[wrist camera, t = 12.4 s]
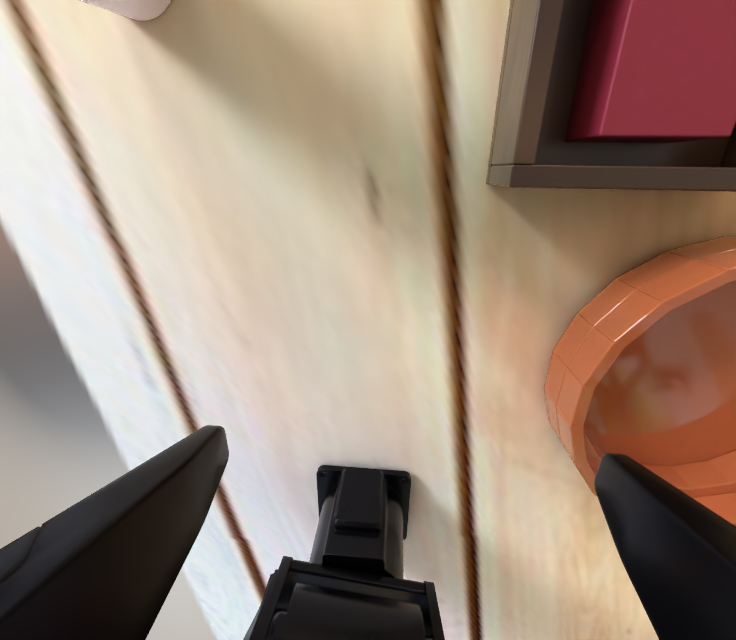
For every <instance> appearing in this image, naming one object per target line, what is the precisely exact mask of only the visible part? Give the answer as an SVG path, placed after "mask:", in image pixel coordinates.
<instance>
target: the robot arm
mask: <svg viewBox="0 0 736 640" xmlns="http://www.w3.org/2000/svg"><path fill="white" fill-rule="evenodd" d="M228 457H229V450H228V445H227V439H226V434H225V430H224V428H223V427H221V426H212V425H207V426H204V427H202V428H201V429H199V430H197V431H196V432H194V433H192V434H191V435H189V436H187V437H186V438H184V439H183V440H181V441H179V442H178V443H176V444H174V445H173V446H171V447H169V448H168V449H166V450H164V451H163V452H161V453H159V454H158V455H156V456H154V457H153V458H151V459H149V460H148V461H146V462H144V463H143V464H141V465H139V466H138V467H136V468H134V469H133V470H131V471H129V472H128V473H126V474H124V475H123V476H121V477H120V478H118V479H116V480H115V481H113V482H111V483H110V484H108V485H106V486H105V487H103V488H101V489H100V490H98V491H96V492H95V493H93V494H91V495H90V496H88V497H86V498H85V499H83V500H81V501H80V502H78V503H76V504H75V505H73V506H71V507H70V508H68V509H66V510H65V511H63V512H61V513H60V514H58V515H56V516H55V517H53V518H52V519H50V520H48V521H46V522H45V523H43V524H42V526H41V527H36V528H35V529H33V530H31V531H30V532H28V533H26V534H25V535H23V536H22V537H20V538H18V539H16V540H15V541H13V542H11V543H10V544H8V545H6V546H5V547H3V548H1V549H0V640H145V639H146V637H147V635H148V633H149V631H150V629H151V627H152V625H153V623H154V621H155V619H156V617H157V615H158V613H159V611H160V609H161V607H162V605H163V603H164V601H165V599H166V597H167V595H168V593H169V591H170V589H171V587H172V585H173V584H174V582H175V580H176V578H177V575H178V574H179V572H180V570H181V568H182V566H183V564H184V562H185V560H186V558H187V556H188V554H189V552H190V550H191V548H192V546H193V544H194V542H195V540H196V538H197V536H198V534H199V532H200V530H201V527H202V525H203V523H204V521H205V518H206V516H207V514H208V511H209V508H210V506H211V503H212V501H213V498H214V495H215V493H216V490H217V488H218V485H219V482H220V480H221V477H222V475H223V472H224V469H225V467H226V464H227V461H228ZM323 472H324V473H323ZM410 487H411V476H410V474H409V473H408V472H405V471H395V470H381V469H368V468H355V467H342V466H329V465H322V466H320V467H319V468H318V471H317V489H318V506H319V523H318V527H317V531H316V536H315V540H314V544H313V548H312V553H311V557H310V561H309V562H304V561H299V560H293V558H292V557H287V556H283V559H282V562H281V564H280V567H279V569H278V570H277V569H276V570H275V573H273V574H271V575H270V578H269V581H268V584H267V587H266V590H265V594H264V597H263V600H262V602H261V605H260V607H259V610H258V612H257V614H256V616H255V618H254V620H253V622H252V624H251V626H250V628H249V629H248V631H247V633H246V635H245V637H244V639H243V640H445V638H444V633H443V628H442V623H441V617H440V612H439V607H438V602H437V597H436V592H435V586H434V583H433V582H427V581H424V582H423V583H422V582H416V581H411V580H405V579H403V540H405V539H406V536H407V524H408V512H409V499H410ZM594 487H595V491H596V494H597V497H598V499H599V502H600V505H601V507H602V510H603V513H604V516H605V518H606V521H607V524H608V526H609V529H610V532H611V534H612V537H613V540H614V542H615V545H616V548H617V550H618V553H619V555H620V558H621V560H622V562H623V565H624V567H625V569H626V571H627V573H628V575H629V578H630V580H631V582H632V584H633V586H634V588H635V590H636V592H637V594H638V596H639V598H640V600H641V603H642V605H643V607H644V609H645V611H646V613H647V615H648V617H649V619H650V621H651V623H652V625H653V627H654V630H655V632H656V634H657V636H658V638H659V640H736V526H735V525H733V524H732V523H730V522H729V521H727V520H726V519H724V518H723V517H721V516H719V515H718V514H716V513H715V512H713V511H712V510H710V509H709V508H707V507H706V506H704V505H703V504H701V503H700V502H698V501H696V500H695V499H693V498H692V497H690V496H689V495H687V494H686V493H684V492H683V491H681V490H680V489H678V488H676V487H675V486H673V485H672V484H670V483H669V482H667V481H666V480H664V479H663V478H661V477H660V476H658V475H656V474H655V473H653V472H652V471H650V470H649V469H647V468H646V467H644V466H643V465H641V464H640V463H638V462H637V461H635V460H633V459H632V458H630V457H629V456H627V455H625V454H617V453H606V454H604V455H603V456H602V458H601V461H600V464H599V467H598V470H597V473H596V475H595V479H594Z"/></svg>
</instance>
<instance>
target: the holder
mask: <svg viewBox="0 0 736 640" xmlns="http://www.w3.org/2000/svg"><path fill="white" fill-rule="evenodd" d="M593 3H594V0H511V2H510V9H509V17H508V24H507V32H506V39H505V47H504V54H503V61H502V69H501V76H500V84H499V91H498V99H497V106H496V113H495V121H494V128H493V136H492V143H491V151H490V158H489V166H488V173H487V180H486V183H487V184H493V185H499V186H505V187H511V188H568V189H625V190H682V191H736V123H735V126H734V128H733V131H732V134H731V135H730V136H729V137H725V138H715V139H705V140H695V141H685V142H674V143H624V142H566V141H565V140H566V135H567V130H568V125H569V120H570V115H571V110H572V105H573V101H574V96H575V91H576V86H577V81H578V76H579V71H580V66H581V62H582V57H583V52H584V47H585V42H586V37H587V32H588V27H589V23H590V18H591V13H592V8H593Z"/></svg>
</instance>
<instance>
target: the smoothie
mask: <svg viewBox="0 0 736 640" xmlns="http://www.w3.org/2000/svg"><path fill="white" fill-rule="evenodd" d="M80 1H83V2H85V3H88V4H91V5H94V6H97V7H100V8H103V9H106V10H108V11H111V12H114V13H117V14H120V15H123V16H126V17H128V18H131V19H135V20H141V21H145V20H151V19H154V18H156V17H158V16H159V15H161V14H162V13H163V12H164V11H165V10H166V8H167V7H168V5H169V4H170V2H171V0H80Z"/></svg>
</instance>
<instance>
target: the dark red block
mask: <svg viewBox="0 0 736 640" xmlns="http://www.w3.org/2000/svg"><path fill="white" fill-rule="evenodd" d="M735 123H736V0H594V3H593V8H592V13H591V18H590V23H589V27H588V32H587V37H586V42H585V47H584V52H583V57H582V62H581V66H580V71H579V76H578V81H577V86H576V91H575V96H574V101H573V105H572V110H571V115H570V120H569V125H568V130H567V135H566V140H565V141H566V142H624V143H674V142H685V141H695V140H705V139H715V138H725V137H729V136H730V135H731V134H732V131H733V128H734V126H735Z"/></svg>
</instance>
